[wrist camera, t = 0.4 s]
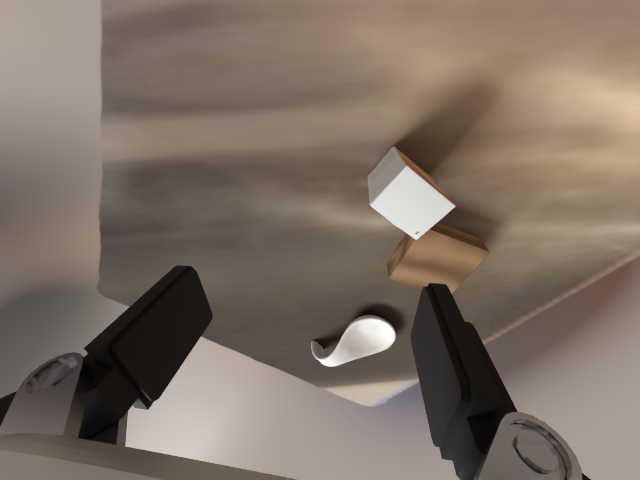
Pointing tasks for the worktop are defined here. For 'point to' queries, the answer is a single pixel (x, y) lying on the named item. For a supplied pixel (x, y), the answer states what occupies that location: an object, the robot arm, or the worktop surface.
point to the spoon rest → (358, 341)
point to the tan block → (436, 258)
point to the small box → (407, 194)
